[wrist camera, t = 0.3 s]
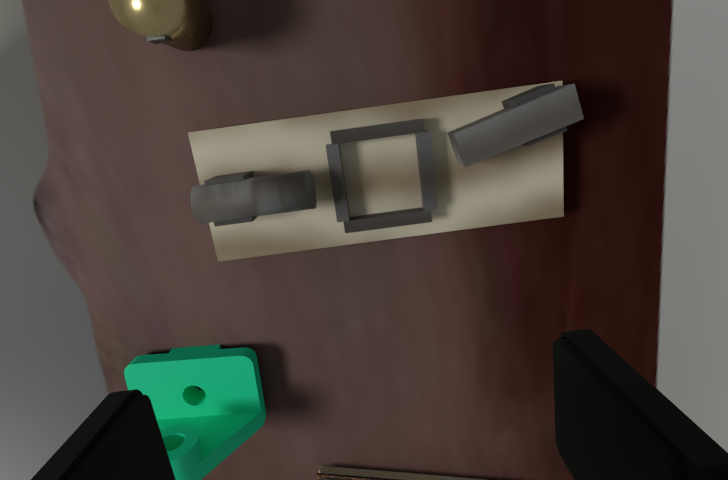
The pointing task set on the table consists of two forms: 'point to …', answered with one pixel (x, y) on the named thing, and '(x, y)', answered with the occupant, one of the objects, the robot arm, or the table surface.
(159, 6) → the yellow round-topped cylinder
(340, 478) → the hardcover book
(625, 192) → the table surface
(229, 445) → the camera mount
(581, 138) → the table surface
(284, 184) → the stand
